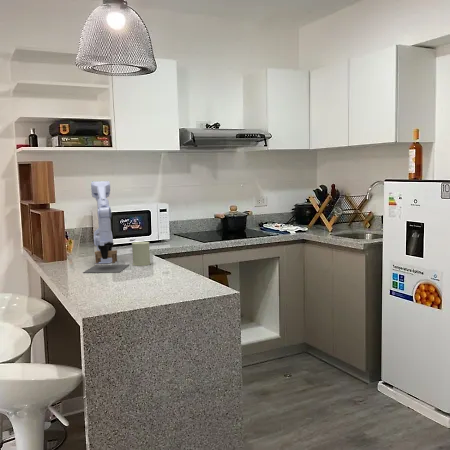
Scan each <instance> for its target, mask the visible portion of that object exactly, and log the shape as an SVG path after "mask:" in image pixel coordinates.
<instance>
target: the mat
mask: <svg viewBox="0 0 450 450" xmlns="http://www.w3.org/2000/svg"><path fill="white" fill-rule="evenodd" d="M129 266H130V264H100V265H99V264H96V265H93V266H91V267H90V268H88V269H86V270H85V271H83V272H82V273H83V274H96V273H97V274H103V273H104V274H112V273H115V274H116V273H117V274H118V273H121V272H122V271H124V270H126V268H128V267H129Z"/></svg>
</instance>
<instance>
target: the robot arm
mask: <svg viewBox="0 0 450 450" xmlns="http://www.w3.org/2000/svg"><path fill="white" fill-rule="evenodd" d="M90 190H91V196H92V198H94V199H95V201H96V207H97V210H96V211H97V221H98V224H97V226H98V227H97V229H95V231H93V244H94V246H95V247H96V251H100V252H101V255H102V258H101V262H99V263H96V262H95V264H96V265H99V264H100V265H105V264H112V258H107V257H108V250H113V247H114V245H115V244H114V243H115V242H114V238H113V237H114V236H113V232H112V223H111V222H112V221H111V219H112V209H111V206H110V202H109V199H108V198H109V197H110V194H111V181H109V180H103V181H101V180H100V181H98V180H97V181H94V180H93V181H91V182H90Z"/></svg>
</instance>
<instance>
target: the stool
mask: <svg viewBox="0 0 450 450" xmlns="http://www.w3.org/2000/svg"><path fill="white" fill-rule="evenodd" d="M94 256H95V263H99V262H101V258H102V255H101V252H100V251H97V250H96V251H94ZM107 258H112V262H111V264H112V263H113V264H115V263H117V262H118V250H117V249H112V250H108V257H107Z"/></svg>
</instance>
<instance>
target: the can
mask: <svg viewBox="0 0 450 450" xmlns="http://www.w3.org/2000/svg"><path fill="white" fill-rule="evenodd" d="M131 249H132V266H135V267H145V266H150V265H151V258H150V257H151V256H150V251H151V250H150V241H135V242H131Z"/></svg>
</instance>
